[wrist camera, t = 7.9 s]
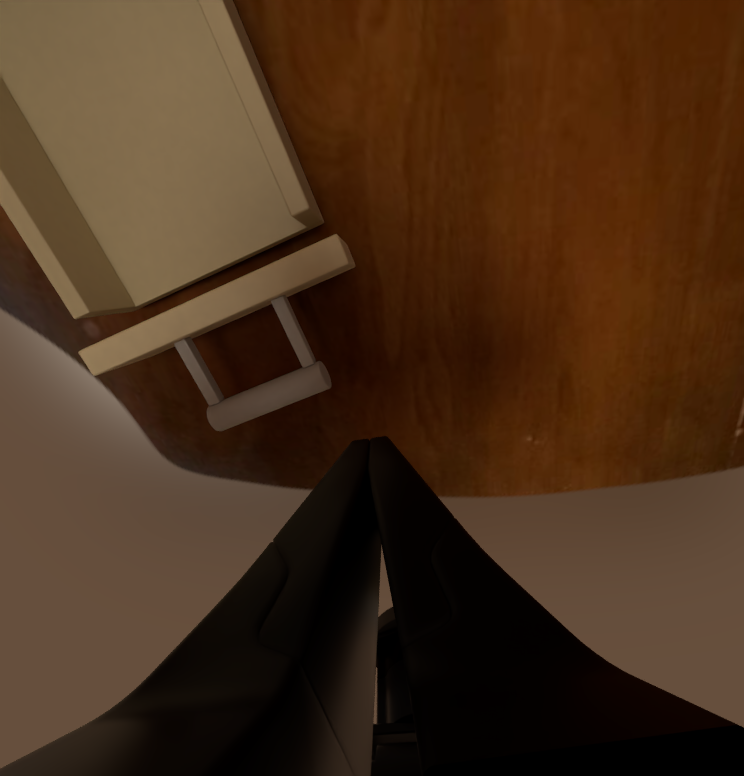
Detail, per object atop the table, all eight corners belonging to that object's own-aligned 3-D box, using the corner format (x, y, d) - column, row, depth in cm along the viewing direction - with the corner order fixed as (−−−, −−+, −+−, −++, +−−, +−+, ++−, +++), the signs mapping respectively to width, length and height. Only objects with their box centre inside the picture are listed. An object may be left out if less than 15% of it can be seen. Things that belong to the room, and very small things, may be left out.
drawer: (390, 351, 19) (393, 371, 15) (195, 429, 21) (151, 466, 17) (187, -152, 14) (107, -332, 10) (-58, 7, 15) (-215, -90, 11)
